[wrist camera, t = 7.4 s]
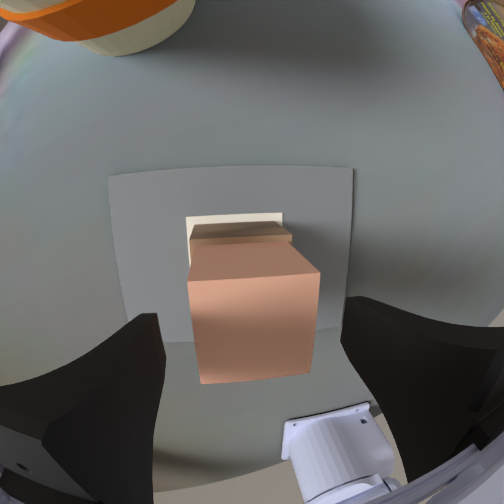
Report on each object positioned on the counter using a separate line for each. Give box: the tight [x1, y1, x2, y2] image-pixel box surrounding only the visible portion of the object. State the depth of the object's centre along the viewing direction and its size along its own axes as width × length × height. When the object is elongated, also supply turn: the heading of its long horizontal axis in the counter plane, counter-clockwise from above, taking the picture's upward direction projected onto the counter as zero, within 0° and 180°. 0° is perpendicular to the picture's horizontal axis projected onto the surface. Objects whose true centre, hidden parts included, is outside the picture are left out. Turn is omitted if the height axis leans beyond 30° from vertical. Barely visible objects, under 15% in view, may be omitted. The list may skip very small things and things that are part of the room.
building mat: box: [108, 165, 353, 342], centre depth 18 cm, size 16×12×1 cm
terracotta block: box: [187, 241, 320, 384], centre depth 12 cm, size 4×4×4 cm
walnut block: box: [189, 221, 292, 261], centre depth 16 cm, size 5×5×4 cm
